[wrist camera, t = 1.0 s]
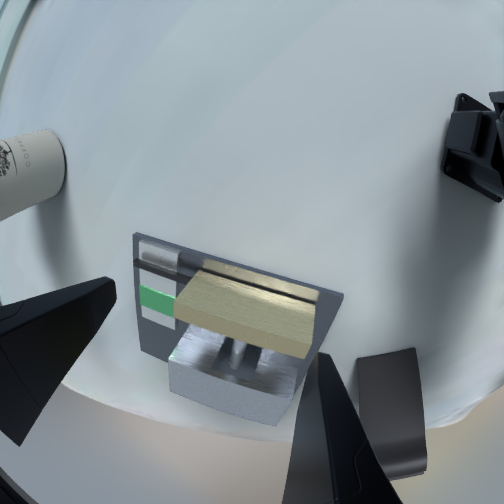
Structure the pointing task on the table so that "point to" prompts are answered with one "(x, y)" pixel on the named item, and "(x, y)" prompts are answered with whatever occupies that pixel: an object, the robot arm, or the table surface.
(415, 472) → the phone stand
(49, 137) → the travel mug
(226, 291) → the plate
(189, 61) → the table surface
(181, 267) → the frame
